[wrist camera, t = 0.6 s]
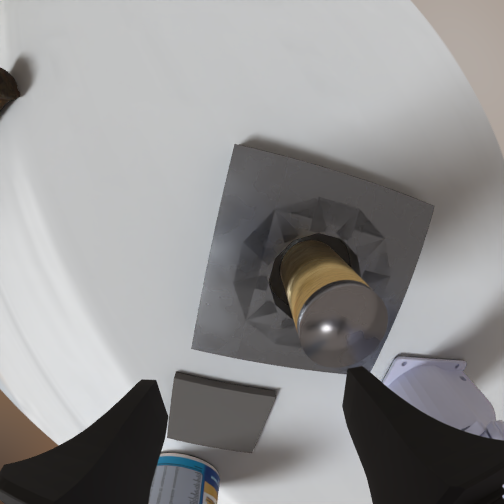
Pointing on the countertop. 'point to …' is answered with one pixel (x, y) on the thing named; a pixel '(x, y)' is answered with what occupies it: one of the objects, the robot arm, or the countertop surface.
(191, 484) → the blue bottle
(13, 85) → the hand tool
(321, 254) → the cylindrical knob
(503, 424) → the robot arm
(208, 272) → the housing
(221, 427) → the mat
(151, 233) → the countertop surface
